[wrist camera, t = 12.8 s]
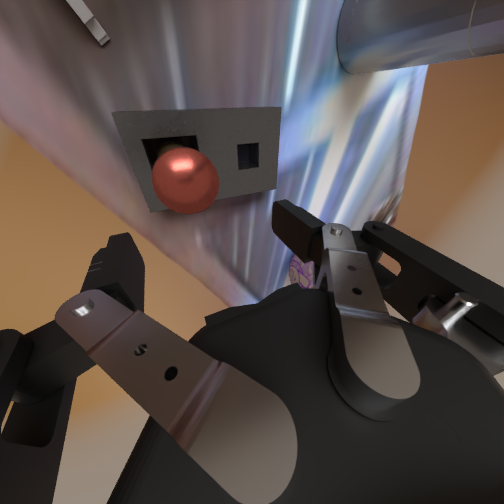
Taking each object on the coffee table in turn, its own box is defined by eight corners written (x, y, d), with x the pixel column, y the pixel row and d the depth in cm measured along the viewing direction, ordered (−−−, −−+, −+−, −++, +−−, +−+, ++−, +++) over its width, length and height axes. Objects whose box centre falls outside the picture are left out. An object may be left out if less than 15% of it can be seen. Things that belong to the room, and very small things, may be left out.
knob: (191, 131, 23) (214, 145, 15) (199, 177, 27) (222, 207, 19) (142, 134, 21) (140, 152, 14) (158, 183, 25) (164, 219, 17)
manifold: (267, 106, 25) (281, 107, 23) (265, 182, 31) (276, 188, 29) (115, 111, 20) (111, 112, 17) (150, 201, 26) (150, 212, 23)
